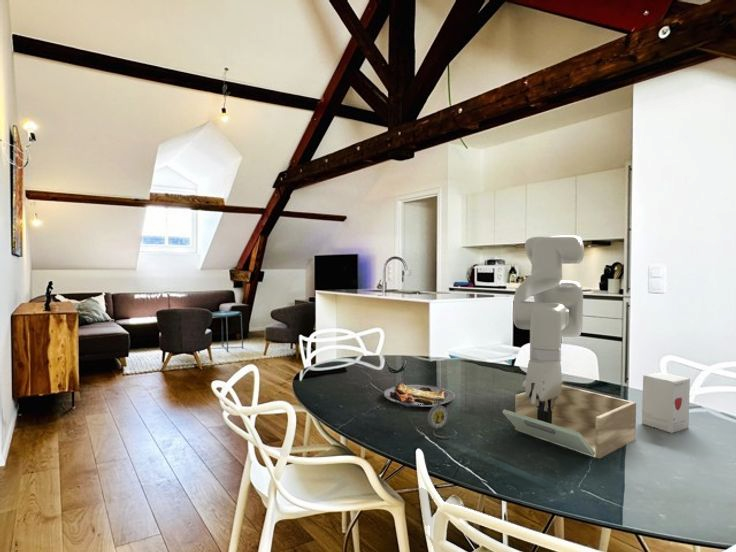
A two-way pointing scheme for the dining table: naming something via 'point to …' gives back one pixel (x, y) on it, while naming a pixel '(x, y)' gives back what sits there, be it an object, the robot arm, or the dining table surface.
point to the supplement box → (666, 401)
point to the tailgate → (549, 432)
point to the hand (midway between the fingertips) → (544, 424)
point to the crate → (589, 417)
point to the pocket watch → (435, 414)
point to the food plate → (418, 395)
